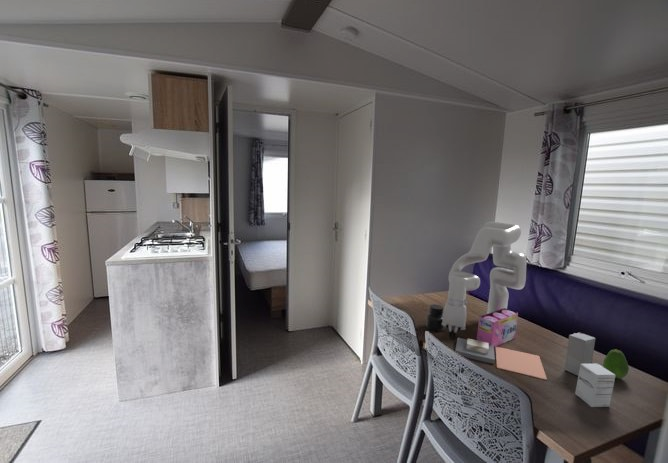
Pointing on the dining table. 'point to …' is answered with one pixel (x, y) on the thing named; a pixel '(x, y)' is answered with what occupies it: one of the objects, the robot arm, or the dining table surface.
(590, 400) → the supplement box
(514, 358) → the mat
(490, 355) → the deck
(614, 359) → the avocado
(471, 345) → the tile
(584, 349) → the skincare box
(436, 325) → the ink bottle
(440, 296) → the dining table surface
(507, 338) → the gum box
